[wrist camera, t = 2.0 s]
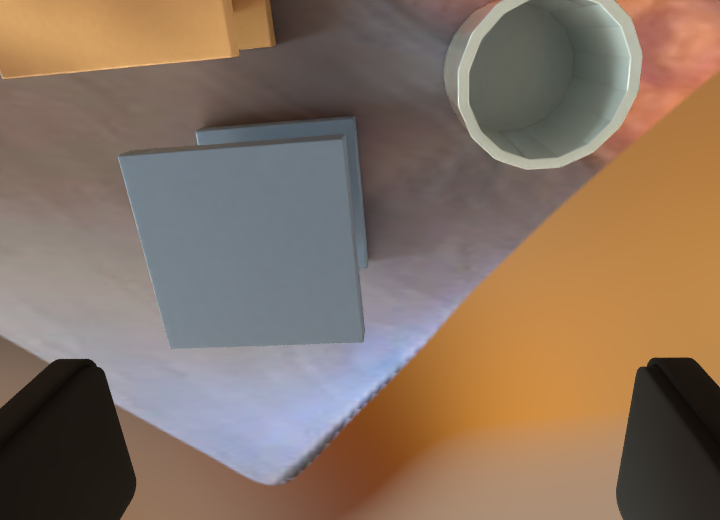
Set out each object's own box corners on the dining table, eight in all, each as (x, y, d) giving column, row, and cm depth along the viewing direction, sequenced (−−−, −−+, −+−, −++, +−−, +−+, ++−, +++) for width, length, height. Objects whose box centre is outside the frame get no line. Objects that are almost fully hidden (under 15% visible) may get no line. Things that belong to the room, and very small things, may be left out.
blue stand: (195, 123, 27) (117, 155, 19) (360, 109, 26) (342, 138, 18) (227, 272, 30) (169, 349, 23) (373, 265, 29) (363, 343, 22)
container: (441, 3, 24) (456, -9, 17) (583, -11, 23) (652, -29, 16) (445, 140, 26) (459, 174, 20) (573, 131, 25) (630, 162, 19)
